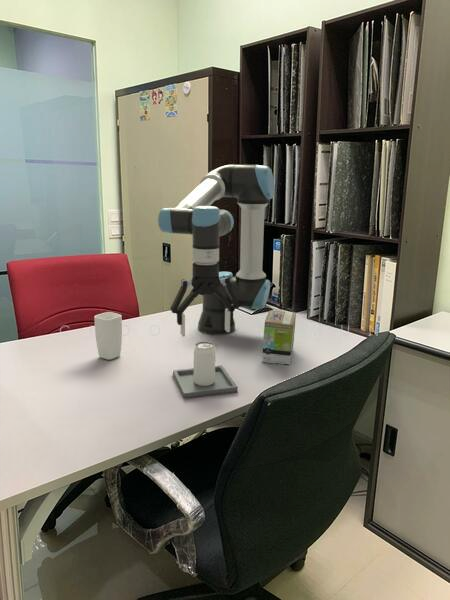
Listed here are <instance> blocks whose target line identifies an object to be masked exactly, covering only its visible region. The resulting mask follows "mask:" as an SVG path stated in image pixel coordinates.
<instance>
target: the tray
mask: <svg viewBox="0 0 450 600" xmlns="http://www.w3.org/2000/svg"><path fill="white" fill-rule="evenodd" d="M172 377H173V378H174V381H175V383H176V386H177V388H178V390H179V392H180V394H181V395H182V397H183V400H188V399H196V398H197V399H198V398H205V397H212V396H220V395H221V396H222V395H228V394H229V395H230V394H238V390H239V388H238V387H239V386H238V385H237V384H236V383H235V381H234V380H233V378H232V377H231V376H230V375H229V373H228V372H227V370H226V369H225V368H224V367H223V365H215V382H214V383H213V384H212V385H210V386H199V385H197V384H195V382H194V367H193V368H185V369H174V370H173V371H172Z"/></svg>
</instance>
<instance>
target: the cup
mask: <svg viewBox="0 0 450 600" xmlns="http://www.w3.org/2000/svg"><path fill="white" fill-rule="evenodd" d="M93 318H94V319H93V320H94V330H95V331H94V333H95V334H94V335H95V341H96V347H97V354H98V357H99V358H101V359H104V360H108V361H111V360H114V359H116V358H119V357H120V356H121V351H122V344H123V343H122V341H123V321H122V320H123V319H122V314H119V313H116V312H112V311H106V312H102V313H99V314H96V315H94V317H93Z"/></svg>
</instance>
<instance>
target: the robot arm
mask: <svg viewBox="0 0 450 600" xmlns="http://www.w3.org/2000/svg"><path fill="white" fill-rule="evenodd" d="M274 195H275V180H274V174H273V172H272V168H270V167H269V165H268V166H267V165H259V164H227V165H223V166H219V167H217V168H215V169H212V170H211V171H209V172H208V173H206V174H205V175H204V176H203V177H202V178H201V180H200V183H199V185H197V187H195V188H194V189H193V190H192V191H191V192H190V193H189V194H188V195H187V196H186V197H184V198H183V199H182V200H181V201H180V202H179V203H178V204H177V205H175V207H164V208H161V209H160V210H159V213H158V215H157V217H158V219H157V224H158V228H159V230H160V231H161V232H163V233H169V234H176V235H177V234H178V235H192V261H193V263H192V278H191V280H187V279H184V278H183V279H181V282H180V288H179V290H178V292H177V294H176V296H175V298H174V300H173V302H172V305H171V307H170V311H171V313H172V314H176V324H178V325H177V326H179V328H180V333H179V334H180V336H181V337H182V338H184V337H186V315H185V313H184V312H185V311H186V310H187V309H188V307H189V306H190V305H191V303H193V301H194V300H195V298H197V297H198V296H199V295H201V296H202V311H201V314H200V317H199V319H198V323H197V330H199V331H200V332H201V333H204V334H209V335H227V334H230V333H232V332H234V331H235V329H236V323H235V318H234V312H235V310H236V309H240V308H244V309H245V308H246V309H251V310H254V309H255V310H262V309H263V308H265V305H267V302H268V299H269V296H270V290H271V280H269V279H267V274H266V273H265V272H264V271H263V262H264V261H263V260H264V235H265V234H264V232H265V231H264V230H265V229H264V228H265V208H266V207H267V206H268V205H269V203H270V202H269V201H270V200H271V199H274ZM222 198H236V199H237V200H236V203H237V205H238V206H239V207H240V247H239V248H240V250H239V251H240V257H239V270H238V272H236V274H235V276H233V275H234V274H233V273H232V272H231V271H220V264H219V262H220V237H223V236H225V235H227V234H229V233H230V232H231V231H232V229H233V228H234V224H235V223H234V222H235V220H234V216H233V215H232V214H231V212H230V211H228V210H225V209H220V208H219V207H217V206H214V205H212V204H213V203H214V202H216V201H218V200H220V199H222ZM190 286H192V289H191V290H190V291H189V294H188V295H187V296H186V298H184V296H185V294H186V292H187V289H188V288H189V287H190ZM189 289H190V288H189ZM183 298H184V300H183Z"/></svg>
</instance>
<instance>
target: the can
mask: <svg viewBox="0 0 450 600" xmlns="http://www.w3.org/2000/svg"><path fill="white" fill-rule="evenodd" d="M194 346H195V347H194V349H193V368H194V382H195V384H197V385H199V386H210V385H212V384H213V383H214V382H215V366H216V353H217V352H216V347H215V343H213V342H210V341H198V342H197V343H196V344H195V345H194Z"/></svg>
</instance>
